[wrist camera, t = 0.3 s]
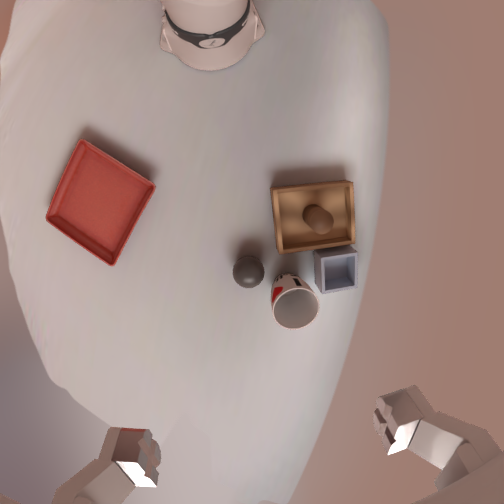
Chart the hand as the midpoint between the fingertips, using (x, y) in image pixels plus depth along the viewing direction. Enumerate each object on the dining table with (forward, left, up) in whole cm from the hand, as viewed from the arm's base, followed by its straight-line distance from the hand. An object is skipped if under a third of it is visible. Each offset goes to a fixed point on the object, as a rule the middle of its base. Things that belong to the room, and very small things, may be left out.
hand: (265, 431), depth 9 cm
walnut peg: (+4, +14, -46) cm, 48 cm away
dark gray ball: (+12, +1, -47) cm, 48 cm away
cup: (+17, +8, -47) cm, 50 cm away
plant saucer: (-5, -25, -47) cm, 54 cm away
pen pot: (+14, +17, -47) cm, 52 cm away
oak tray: (+4, +14, -47) cm, 49 cm away
